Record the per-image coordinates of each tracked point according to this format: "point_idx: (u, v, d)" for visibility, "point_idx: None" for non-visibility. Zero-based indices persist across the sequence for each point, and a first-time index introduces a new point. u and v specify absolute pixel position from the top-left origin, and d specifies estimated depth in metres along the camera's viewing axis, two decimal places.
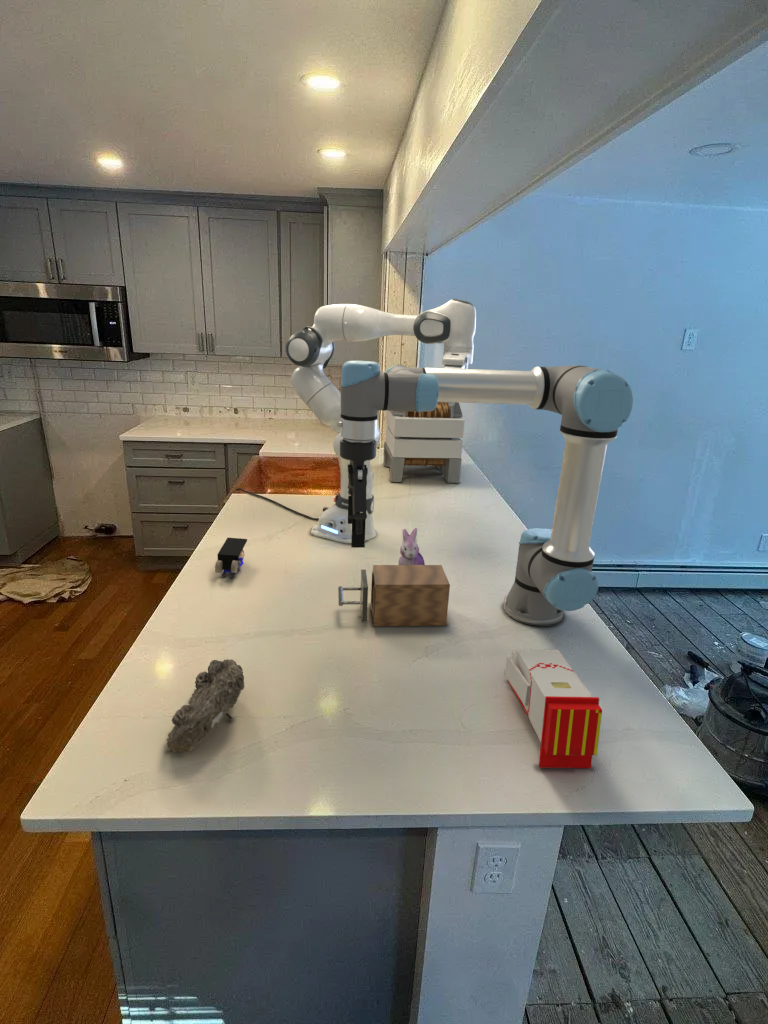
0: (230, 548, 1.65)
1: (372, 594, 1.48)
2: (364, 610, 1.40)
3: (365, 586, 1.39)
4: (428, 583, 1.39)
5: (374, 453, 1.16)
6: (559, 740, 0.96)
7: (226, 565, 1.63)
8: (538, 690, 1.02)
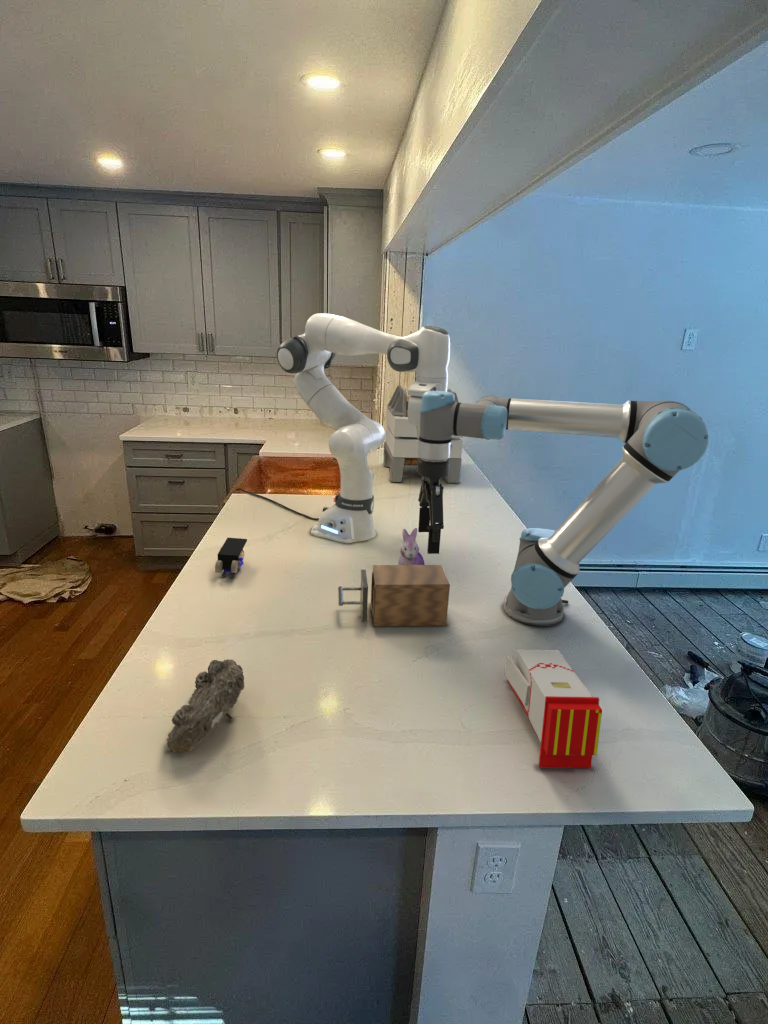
0: (230, 548, 1.65)
1: (372, 594, 1.48)
2: (364, 610, 1.40)
3: (365, 586, 1.39)
4: (428, 583, 1.39)
5: None
6: (559, 740, 0.96)
7: (226, 565, 1.63)
8: (538, 690, 1.02)
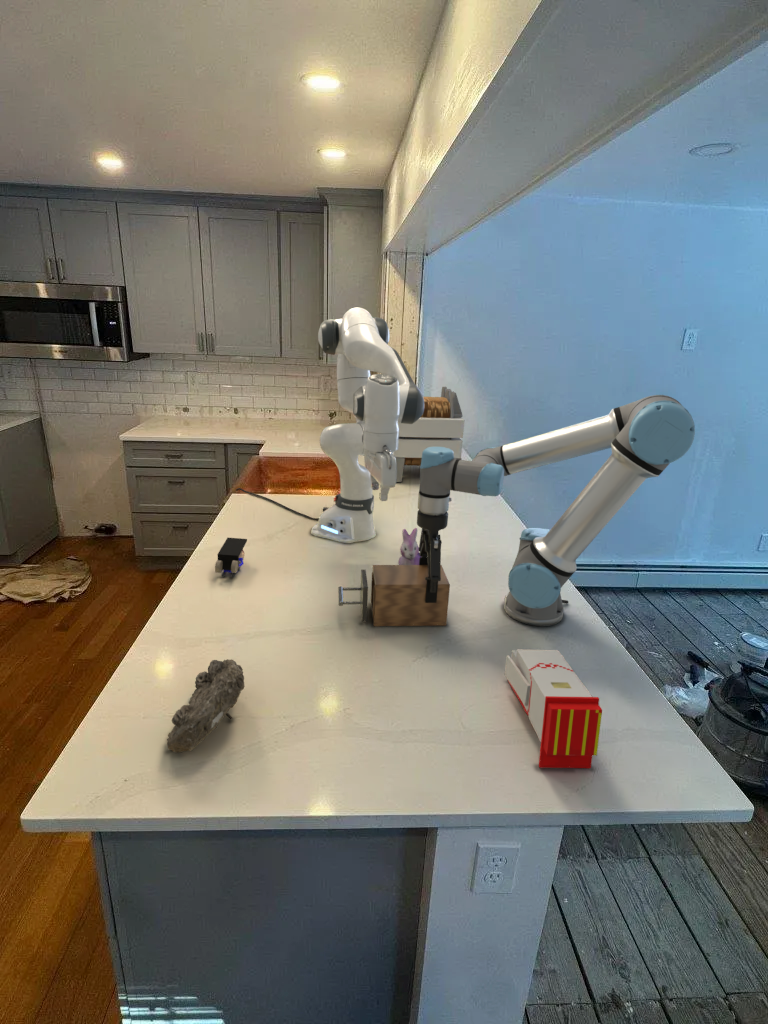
0: (230, 548, 1.65)
1: (372, 594, 1.48)
2: (364, 610, 1.40)
3: (365, 586, 1.39)
4: None
5: None
6: (559, 740, 0.96)
7: (226, 565, 1.63)
8: (538, 690, 1.02)
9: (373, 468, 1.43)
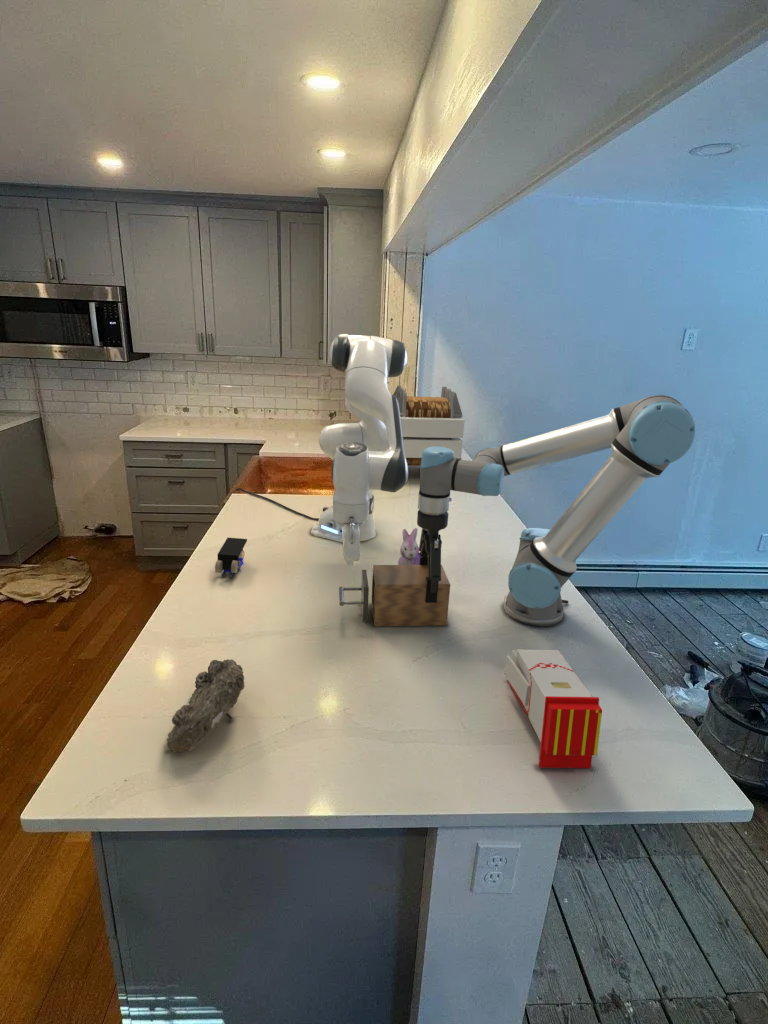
0: (230, 548, 1.65)
1: (373, 594, 1.48)
2: (364, 610, 1.40)
3: (366, 586, 1.39)
4: None
5: None
6: (559, 740, 0.96)
7: (226, 565, 1.63)
8: (538, 690, 1.02)
9: None
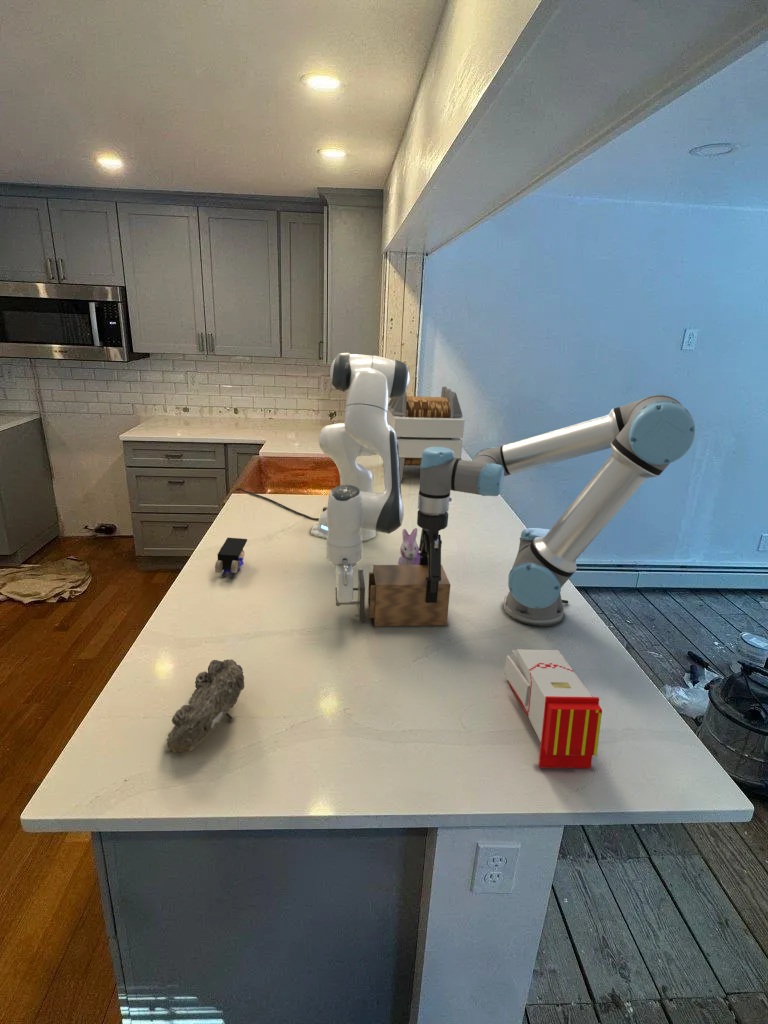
0: (230, 548, 1.65)
1: (369, 594, 1.48)
2: (361, 610, 1.40)
3: (362, 586, 1.38)
4: None
5: None
6: (559, 740, 0.96)
7: (226, 565, 1.63)
8: (538, 690, 1.02)
9: None
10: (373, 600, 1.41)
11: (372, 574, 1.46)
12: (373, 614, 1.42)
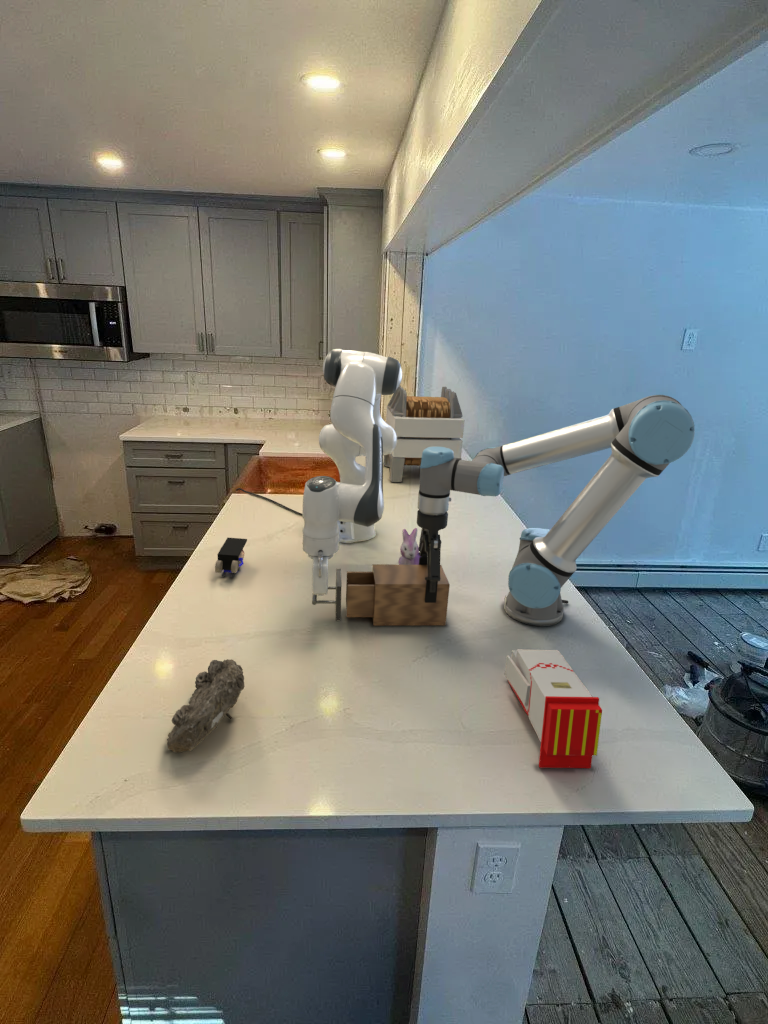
0: (230, 548, 1.65)
1: (347, 593, 1.48)
2: (337, 610, 1.40)
3: (338, 585, 1.38)
4: None
5: None
6: (559, 740, 0.96)
7: (226, 565, 1.63)
8: (538, 690, 1.02)
9: None
10: (350, 599, 1.40)
11: (350, 573, 1.46)
12: (350, 613, 1.41)
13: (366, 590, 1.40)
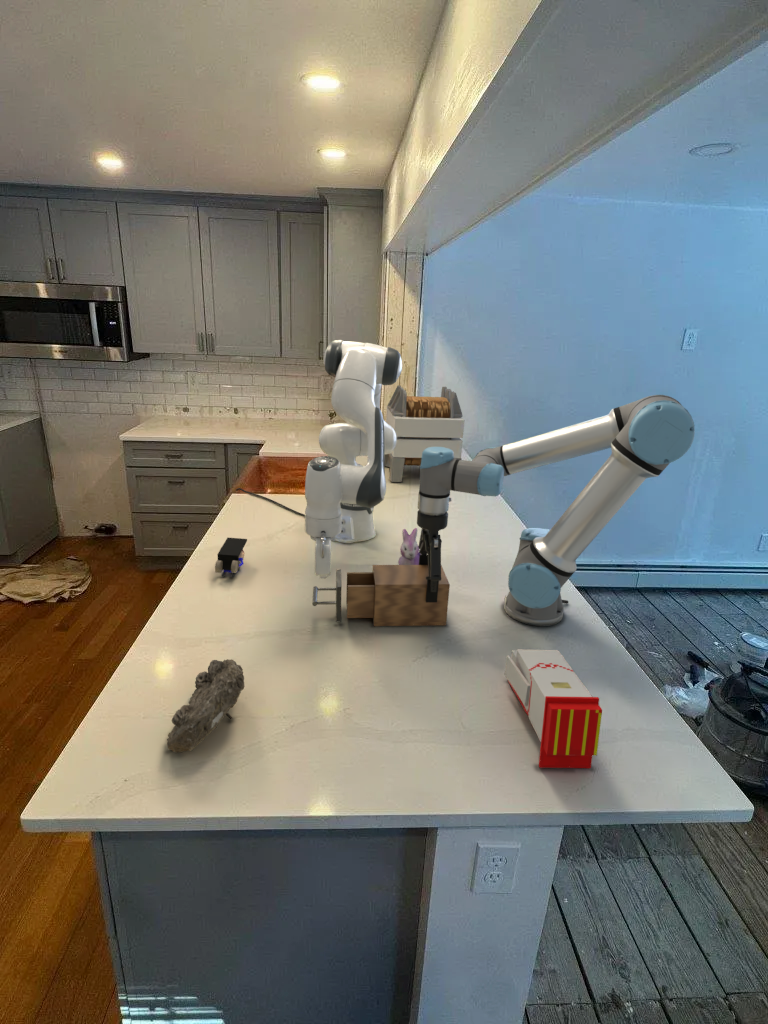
0: (230, 548, 1.65)
1: None
2: (337, 611, 1.40)
3: (338, 586, 1.38)
4: None
5: None
6: (559, 740, 0.96)
7: (226, 565, 1.63)
8: (538, 690, 1.02)
9: None
10: (350, 600, 1.40)
11: (350, 574, 1.46)
12: (350, 614, 1.41)
13: (366, 591, 1.40)
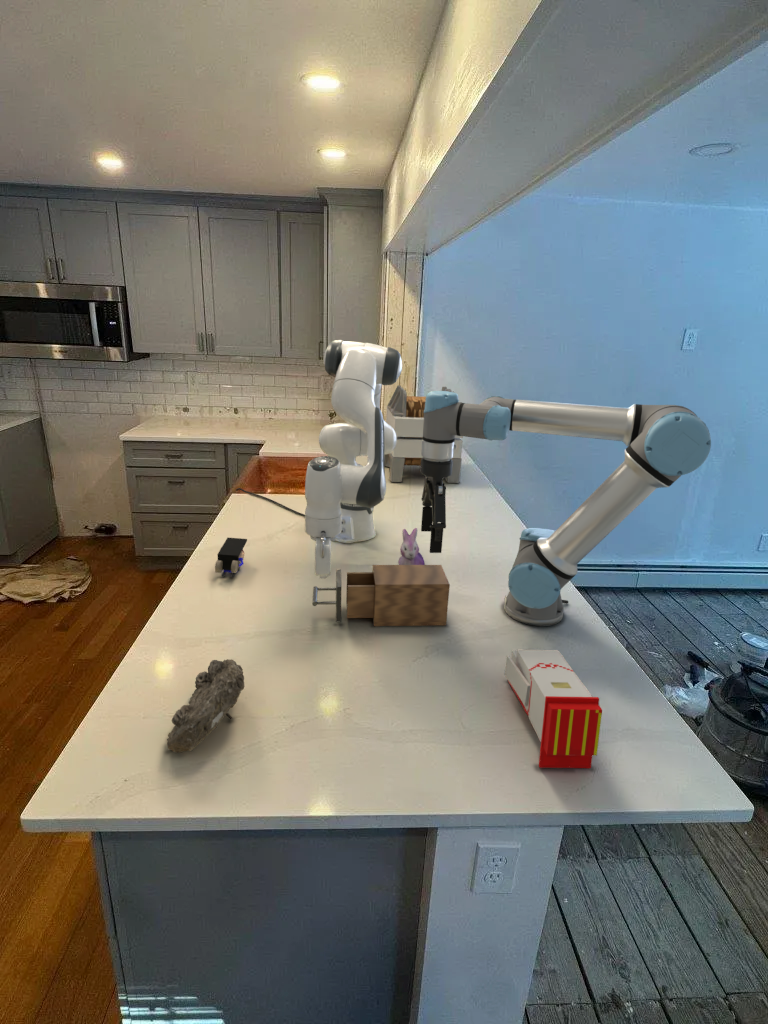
0: (230, 548, 1.65)
1: None
2: (337, 610, 1.40)
3: (338, 586, 1.38)
4: (428, 583, 1.39)
5: None
6: (559, 740, 0.96)
7: (226, 565, 1.63)
8: (538, 690, 1.02)
9: None
10: (350, 600, 1.40)
11: (350, 574, 1.46)
12: (350, 614, 1.41)
13: (366, 591, 1.40)
